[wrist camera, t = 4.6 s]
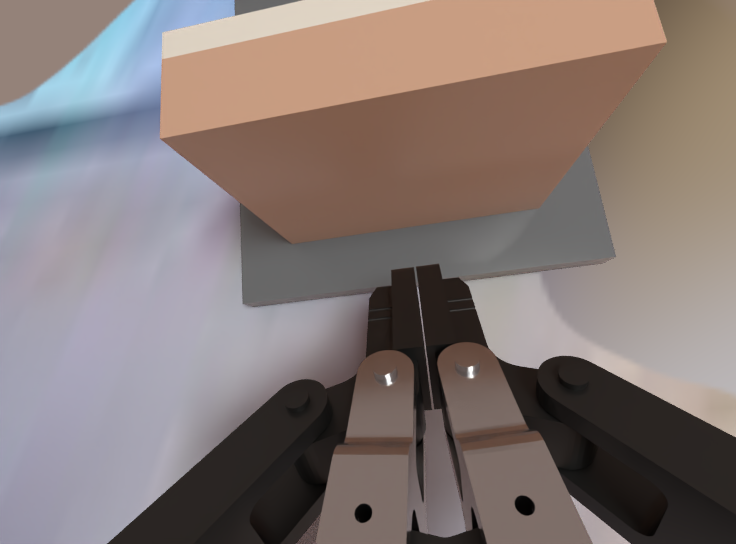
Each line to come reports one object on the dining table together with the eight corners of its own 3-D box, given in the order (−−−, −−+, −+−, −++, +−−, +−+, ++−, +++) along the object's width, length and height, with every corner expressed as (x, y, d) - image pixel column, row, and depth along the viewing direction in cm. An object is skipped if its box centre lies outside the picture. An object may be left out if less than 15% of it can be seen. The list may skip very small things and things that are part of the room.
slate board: (254, 306, 19) (242, 303, 17) (242, -48, 23) (232, -69, 22) (602, 263, 17) (616, 256, 15) (510, -115, 21) (515, -142, 20)
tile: (292, 243, 18) (159, 138, 9) (288, 183, 18) (162, 31, 10) (539, 208, 16) (667, 42, 8) (525, 144, 17) (629, -76, 8)
